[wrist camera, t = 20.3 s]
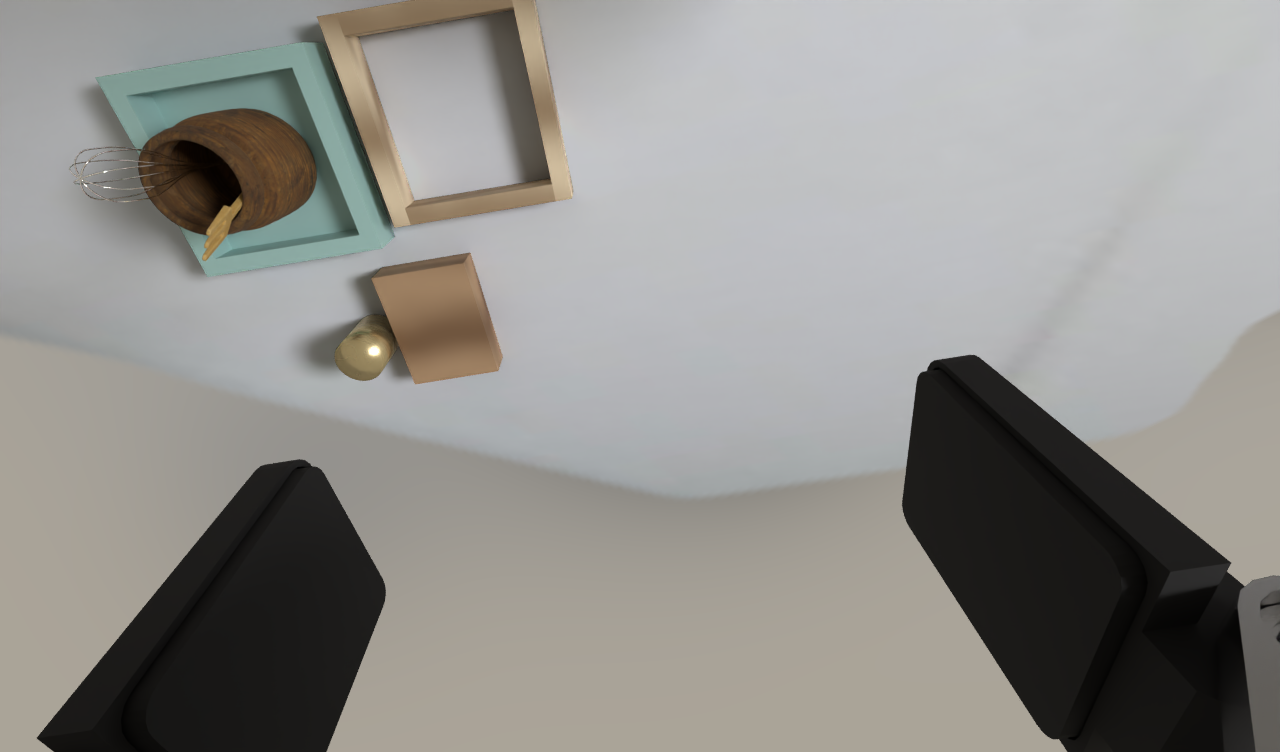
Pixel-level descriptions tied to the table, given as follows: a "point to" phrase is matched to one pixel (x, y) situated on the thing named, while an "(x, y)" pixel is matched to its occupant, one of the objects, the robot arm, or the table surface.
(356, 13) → the wooden square frame
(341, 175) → the tray
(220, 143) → the utensil holder
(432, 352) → the board
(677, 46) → the table surface
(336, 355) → the cylinder
